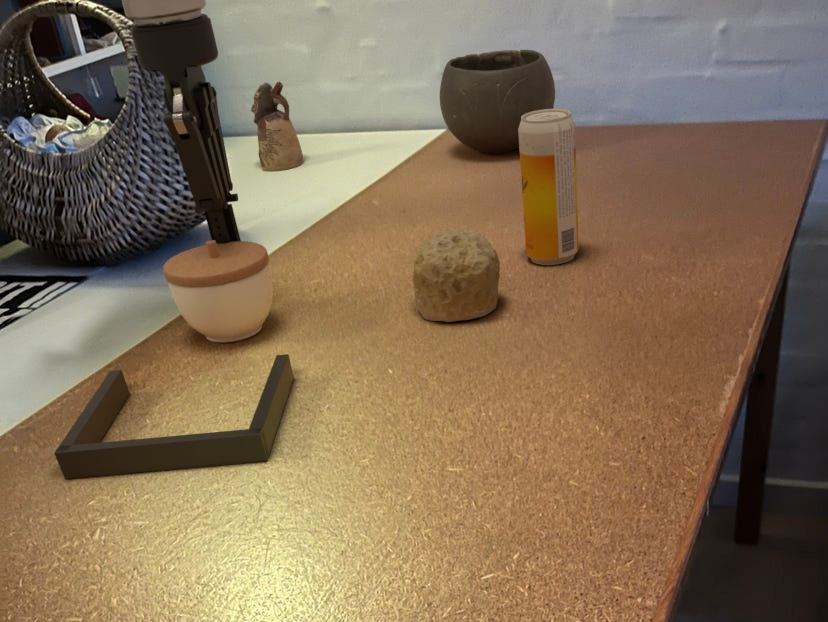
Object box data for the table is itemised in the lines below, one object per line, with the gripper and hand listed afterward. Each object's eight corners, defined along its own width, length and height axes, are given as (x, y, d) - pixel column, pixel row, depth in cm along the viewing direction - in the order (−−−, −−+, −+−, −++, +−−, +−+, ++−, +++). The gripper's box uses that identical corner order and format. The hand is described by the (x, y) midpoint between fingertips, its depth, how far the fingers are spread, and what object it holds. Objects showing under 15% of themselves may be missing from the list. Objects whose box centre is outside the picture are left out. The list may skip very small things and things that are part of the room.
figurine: (272, 159, 164) (255, 78, 157) (310, 158, 162) (295, 76, 155) (253, 171, 159) (234, 88, 151) (293, 170, 157) (276, 86, 149)
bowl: (526, 128, 164) (521, 41, 156) (577, 148, 151) (575, 54, 143) (428, 149, 159) (418, 60, 151) (472, 171, 146) (463, 75, 138)
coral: (434, 291, 109) (426, 220, 104) (513, 293, 106) (508, 220, 101) (402, 323, 102) (391, 249, 97) (485, 327, 99) (478, 251, 94)
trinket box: (289, 307, 109) (270, 220, 103) (275, 346, 101) (253, 253, 95) (195, 317, 110) (171, 230, 104) (173, 356, 101) (145, 264, 95)
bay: (118, 394, 95) (109, 370, 93) (294, 378, 94) (288, 353, 93) (64, 479, 83) (53, 453, 81) (267, 461, 82) (260, 434, 80)
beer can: (550, 245, 117) (544, 105, 107) (589, 254, 113) (586, 110, 104) (515, 261, 114) (505, 118, 104) (554, 270, 110) (547, 123, 101)
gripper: (193, 23, 87) (258, 287, 102) (220, 3, 97) (276, 246, 112) (111, 33, 87) (187, 294, 102) (146, 12, 97) (211, 253, 112)
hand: (233, 269), depth 107 cm, fingers closed
